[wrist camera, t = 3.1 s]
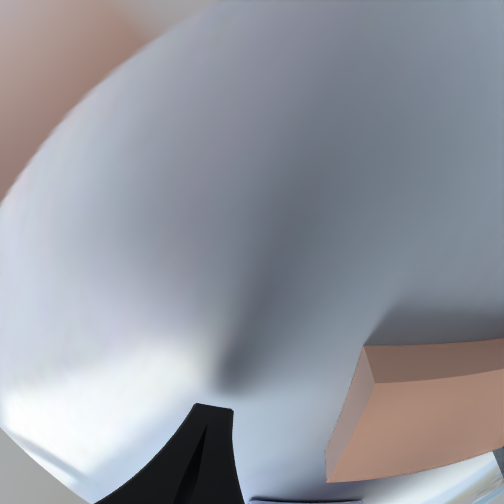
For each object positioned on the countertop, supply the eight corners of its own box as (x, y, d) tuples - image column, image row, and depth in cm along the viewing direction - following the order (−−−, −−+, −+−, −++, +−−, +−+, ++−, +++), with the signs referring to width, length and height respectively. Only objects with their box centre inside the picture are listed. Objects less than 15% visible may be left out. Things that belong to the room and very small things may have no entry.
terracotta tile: (498, 417, 11) (511, 443, 9) (324, 444, 12) (326, 482, 10) (551, 325, 9) (574, 349, 7) (360, 337, 10) (375, 383, 8)
